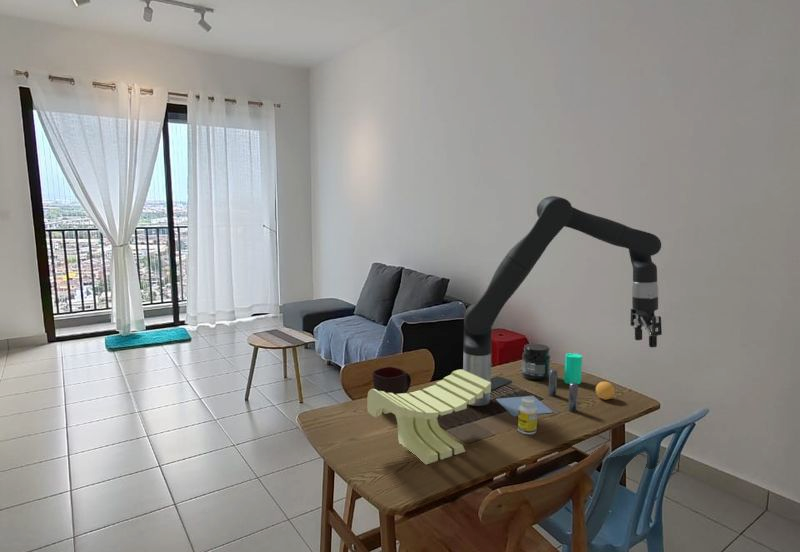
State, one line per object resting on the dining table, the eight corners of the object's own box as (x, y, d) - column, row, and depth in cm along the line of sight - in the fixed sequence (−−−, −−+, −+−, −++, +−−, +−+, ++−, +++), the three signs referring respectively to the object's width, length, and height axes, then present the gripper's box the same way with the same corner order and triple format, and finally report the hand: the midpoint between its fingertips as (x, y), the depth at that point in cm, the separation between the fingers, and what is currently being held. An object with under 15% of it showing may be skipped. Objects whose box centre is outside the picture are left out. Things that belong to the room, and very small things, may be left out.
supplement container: (544, 372, 196) (546, 343, 194) (553, 381, 186) (554, 350, 184) (518, 372, 196) (519, 343, 194) (525, 381, 185) (526, 351, 184)
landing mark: (512, 416, 155) (512, 415, 155) (495, 399, 168) (495, 398, 168) (553, 412, 158) (553, 412, 158) (533, 396, 171) (533, 395, 171)
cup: (368, 407, 162) (368, 372, 160) (398, 395, 171) (399, 362, 170) (388, 416, 155) (388, 379, 153) (419, 404, 164) (419, 369, 163)
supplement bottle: (514, 428, 147) (515, 397, 145) (529, 425, 149) (530, 394, 147) (524, 436, 142) (526, 403, 140) (540, 433, 144) (541, 401, 142)
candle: (582, 385, 182) (583, 354, 180) (565, 384, 183) (566, 353, 181) (579, 379, 187) (581, 349, 186) (563, 378, 189) (564, 348, 187)
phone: (513, 380, 185) (489, 390, 175) (513, 383, 185) (489, 392, 175) (497, 375, 191) (472, 385, 181) (497, 378, 191) (472, 387, 181)
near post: (571, 412, 158) (572, 385, 157) (566, 409, 160) (568, 382, 159) (578, 411, 158) (579, 385, 157) (574, 408, 161) (575, 382, 160)
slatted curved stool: (453, 422, 151) (454, 366, 148) (489, 443, 137) (491, 382, 135) (367, 447, 135) (367, 385, 133) (398, 474, 122) (398, 405, 119)
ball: (601, 402, 165) (603, 385, 165) (591, 396, 171) (592, 379, 170) (617, 401, 167) (618, 384, 166) (607, 394, 172) (608, 378, 172)
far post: (550, 396, 171) (551, 372, 169) (547, 394, 173) (548, 369, 172) (557, 396, 171) (558, 371, 170) (553, 393, 174) (555, 369, 172)
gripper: (622, 292, 166) (623, 338, 168) (645, 299, 152) (646, 350, 154) (644, 290, 166) (644, 336, 168) (669, 297, 152) (669, 348, 154)
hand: (645, 343), depth 161 cm, fingers open, 8 cm apart
